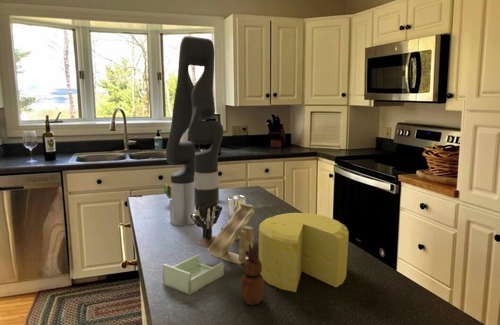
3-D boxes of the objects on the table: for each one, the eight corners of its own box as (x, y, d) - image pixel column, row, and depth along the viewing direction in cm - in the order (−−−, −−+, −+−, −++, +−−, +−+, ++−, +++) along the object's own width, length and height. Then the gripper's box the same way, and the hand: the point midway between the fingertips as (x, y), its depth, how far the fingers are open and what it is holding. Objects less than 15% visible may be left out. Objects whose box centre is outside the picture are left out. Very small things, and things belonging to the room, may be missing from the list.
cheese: (326, 303, 102) (329, 247, 100) (241, 277, 116) (241, 228, 113) (357, 266, 124) (360, 219, 122) (282, 248, 138) (284, 206, 135)
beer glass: (243, 241, 144) (243, 200, 141) (224, 239, 145) (224, 199, 142) (247, 234, 150) (247, 195, 148) (229, 232, 152) (229, 194, 149)
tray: (163, 284, 111) (162, 264, 110) (198, 266, 122) (197, 248, 121) (189, 295, 105) (189, 274, 104) (223, 275, 117) (223, 256, 116)
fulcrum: (238, 246, 138) (238, 219, 137) (260, 253, 133) (261, 224, 131) (217, 257, 129) (217, 228, 127) (240, 264, 124) (240, 234, 122)
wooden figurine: (240, 294, 106) (240, 241, 103) (261, 294, 106) (262, 240, 104) (241, 308, 99) (242, 251, 97) (265, 307, 100) (266, 250, 97)
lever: (229, 206, 138) (225, 199, 136) (255, 212, 132) (253, 205, 130) (195, 250, 126) (191, 242, 124) (223, 258, 120) (219, 251, 118)
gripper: (211, 180, 131) (211, 230, 134) (182, 187, 120) (183, 242, 124) (229, 183, 127) (229, 235, 130) (201, 191, 116) (202, 248, 119)
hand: (207, 238), depth 127 cm, fingers closed
